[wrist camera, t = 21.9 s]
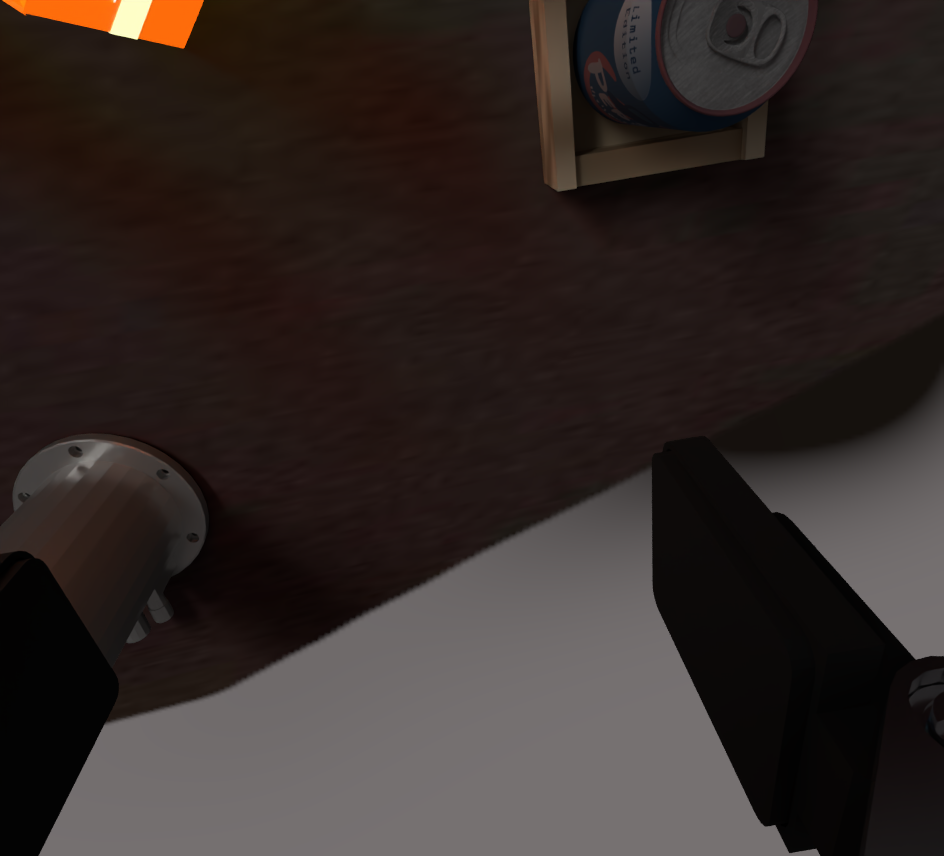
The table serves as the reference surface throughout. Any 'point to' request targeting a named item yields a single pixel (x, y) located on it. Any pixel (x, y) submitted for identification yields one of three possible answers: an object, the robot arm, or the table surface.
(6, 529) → the robot arm
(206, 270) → the table surface
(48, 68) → the table surface
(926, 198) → the table surface
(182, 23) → the orange juice
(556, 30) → the wooden tray
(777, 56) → the soda can
